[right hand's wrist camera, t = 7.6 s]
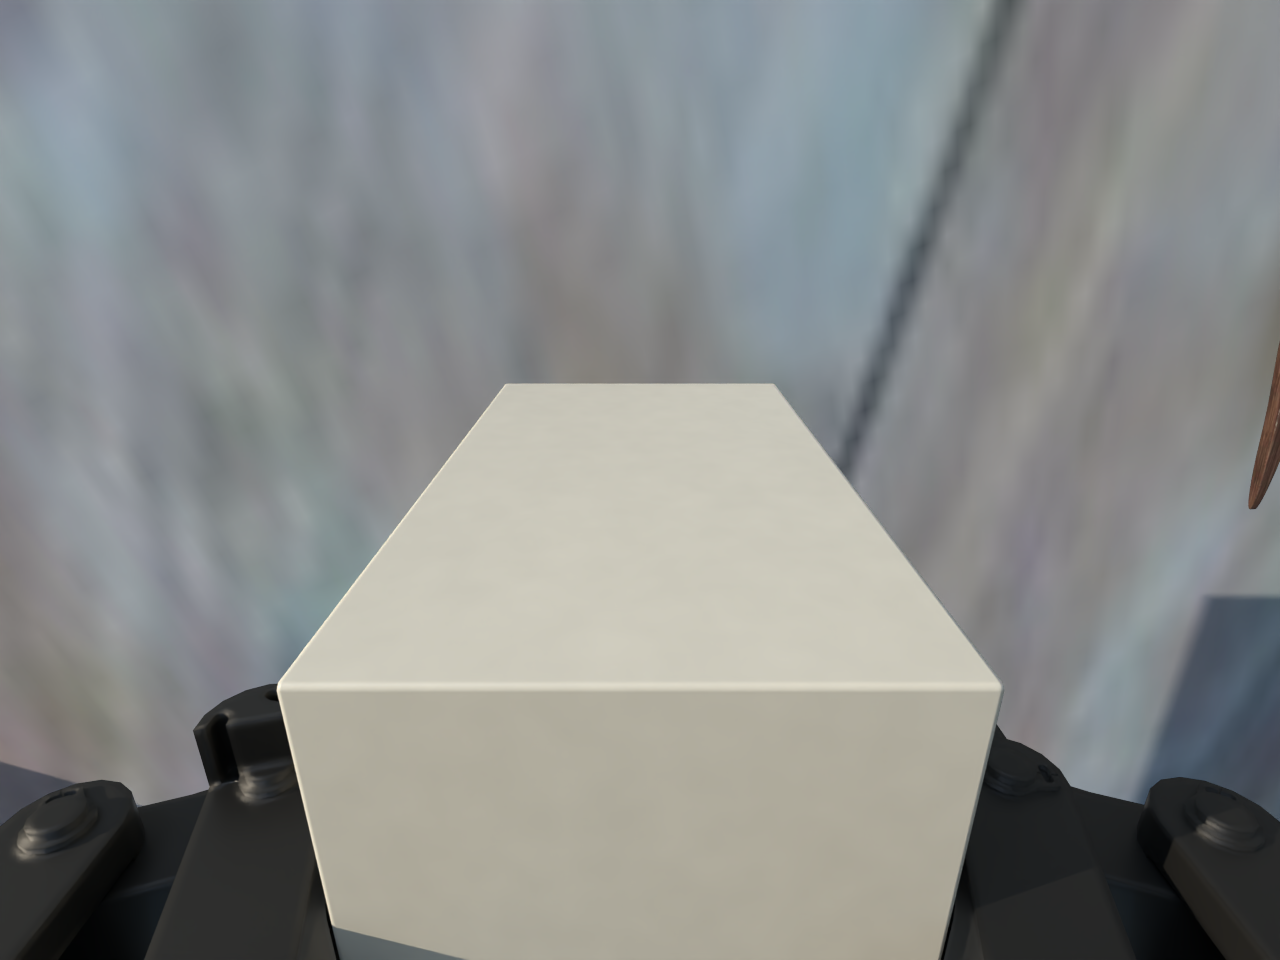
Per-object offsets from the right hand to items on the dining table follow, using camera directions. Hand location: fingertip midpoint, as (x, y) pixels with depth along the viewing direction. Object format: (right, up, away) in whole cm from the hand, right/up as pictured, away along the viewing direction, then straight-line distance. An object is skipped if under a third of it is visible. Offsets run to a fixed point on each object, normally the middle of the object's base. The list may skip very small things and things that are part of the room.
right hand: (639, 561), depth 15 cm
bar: (0, -8, +4) cm, 9 cm away
